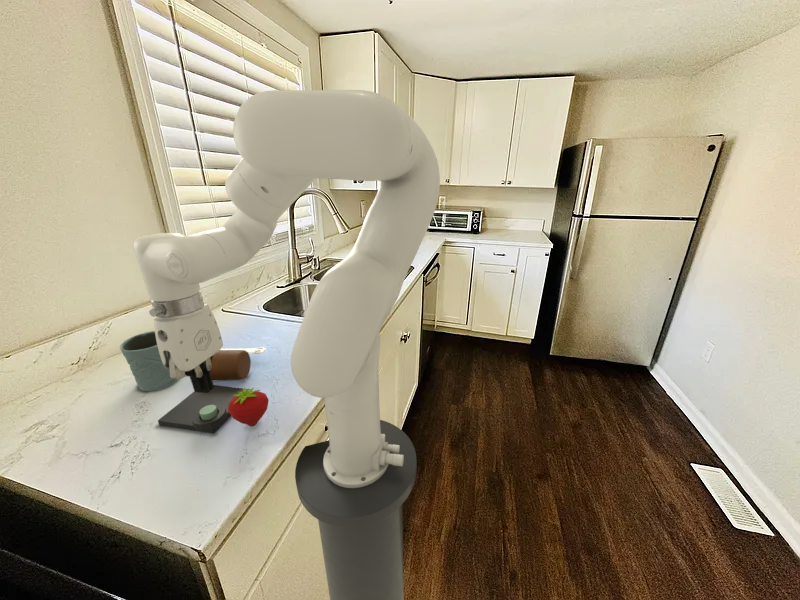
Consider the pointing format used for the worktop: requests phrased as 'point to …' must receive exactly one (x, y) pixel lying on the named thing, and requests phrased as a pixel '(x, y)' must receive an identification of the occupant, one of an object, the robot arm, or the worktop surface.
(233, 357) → the mug
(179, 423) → the scale
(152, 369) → the green plant pot
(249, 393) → the strawberry
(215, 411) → the button
